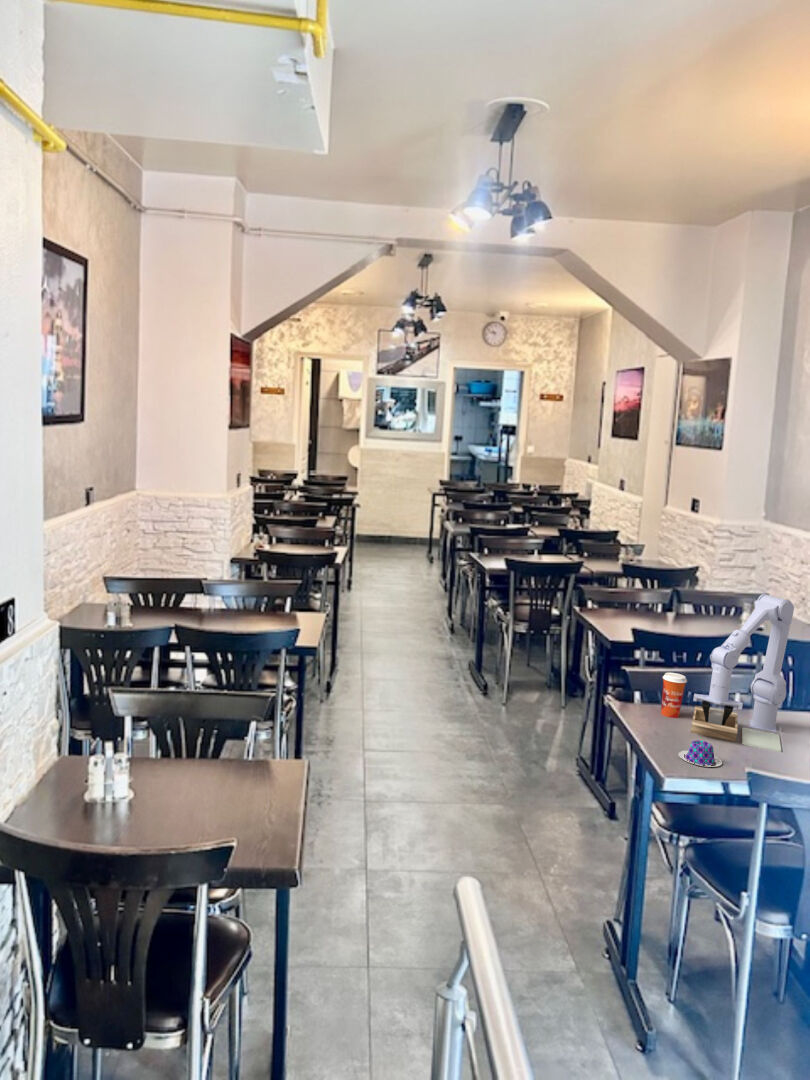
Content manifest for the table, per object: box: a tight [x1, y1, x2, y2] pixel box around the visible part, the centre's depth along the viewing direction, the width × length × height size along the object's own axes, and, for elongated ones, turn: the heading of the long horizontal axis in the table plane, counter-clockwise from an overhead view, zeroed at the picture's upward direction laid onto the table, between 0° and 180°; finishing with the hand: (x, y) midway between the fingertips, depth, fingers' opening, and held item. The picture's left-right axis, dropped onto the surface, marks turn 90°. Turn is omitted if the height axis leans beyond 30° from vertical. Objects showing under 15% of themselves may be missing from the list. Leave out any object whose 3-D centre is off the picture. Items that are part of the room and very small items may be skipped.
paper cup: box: [660, 672, 688, 719], centre depth 287 cm, size 8×8×14 cm
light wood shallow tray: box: [690, 705, 739, 742], centre depth 275 cm, size 21×13×4 cm, turn 159°
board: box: [741, 727, 782, 753], centre depth 270 cm, size 16×11×1 cm
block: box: [708, 707, 724, 725], centre depth 275 cm, size 8×4×6 cm, turn 159°
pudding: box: [678, 739, 723, 768], centre depth 249 cm, size 12×12×5 cm
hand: (714, 726), depth 274 cm, fingers closed on block, 4 cm apart
